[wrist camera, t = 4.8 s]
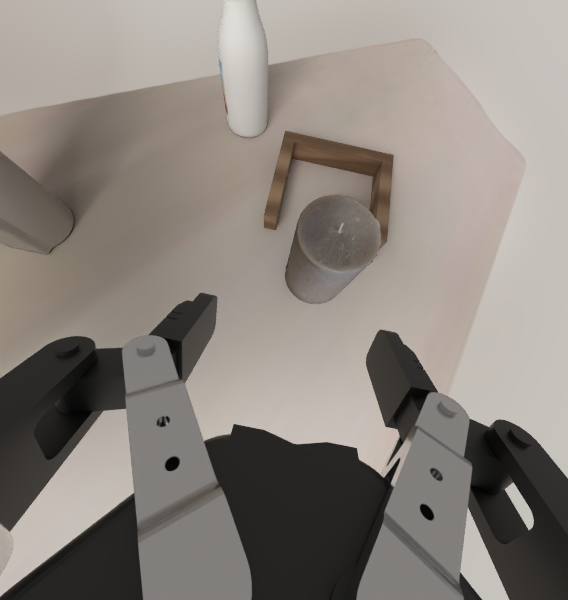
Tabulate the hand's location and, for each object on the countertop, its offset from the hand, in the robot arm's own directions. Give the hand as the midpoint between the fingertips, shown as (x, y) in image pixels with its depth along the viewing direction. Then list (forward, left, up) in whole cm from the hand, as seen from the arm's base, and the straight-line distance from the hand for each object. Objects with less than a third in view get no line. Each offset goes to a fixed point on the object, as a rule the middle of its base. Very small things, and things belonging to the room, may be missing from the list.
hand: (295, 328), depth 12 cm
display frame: (+29, -4, -25) cm, 38 cm away
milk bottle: (+43, +14, -25) cm, 51 cm away
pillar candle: (+14, -4, -25) cm, 29 cm away
